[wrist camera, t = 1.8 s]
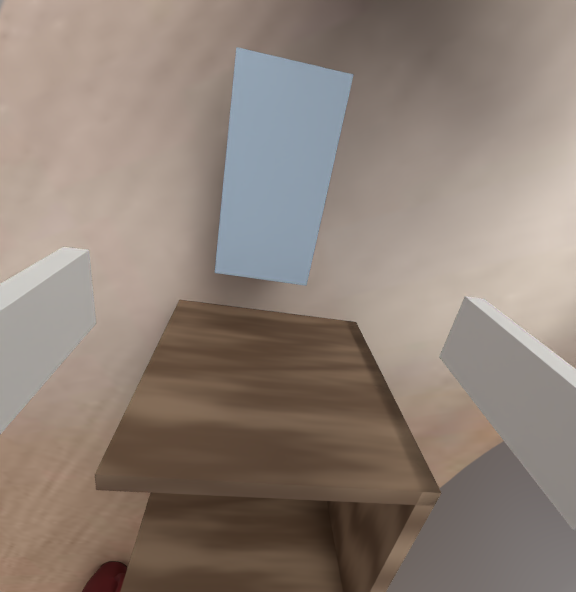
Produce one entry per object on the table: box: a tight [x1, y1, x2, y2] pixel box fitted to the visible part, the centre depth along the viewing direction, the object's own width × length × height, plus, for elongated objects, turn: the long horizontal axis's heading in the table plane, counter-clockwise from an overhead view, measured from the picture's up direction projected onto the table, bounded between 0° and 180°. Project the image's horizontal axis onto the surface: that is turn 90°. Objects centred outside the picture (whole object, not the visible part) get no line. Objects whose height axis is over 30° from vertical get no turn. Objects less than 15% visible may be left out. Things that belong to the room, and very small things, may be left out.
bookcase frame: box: [95, 300, 441, 592], centre depth 31 cm, size 18×19×20 cm
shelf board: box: [215, 47, 354, 286], centre depth 24 cm, size 14×7×2 cm, turn 170°
